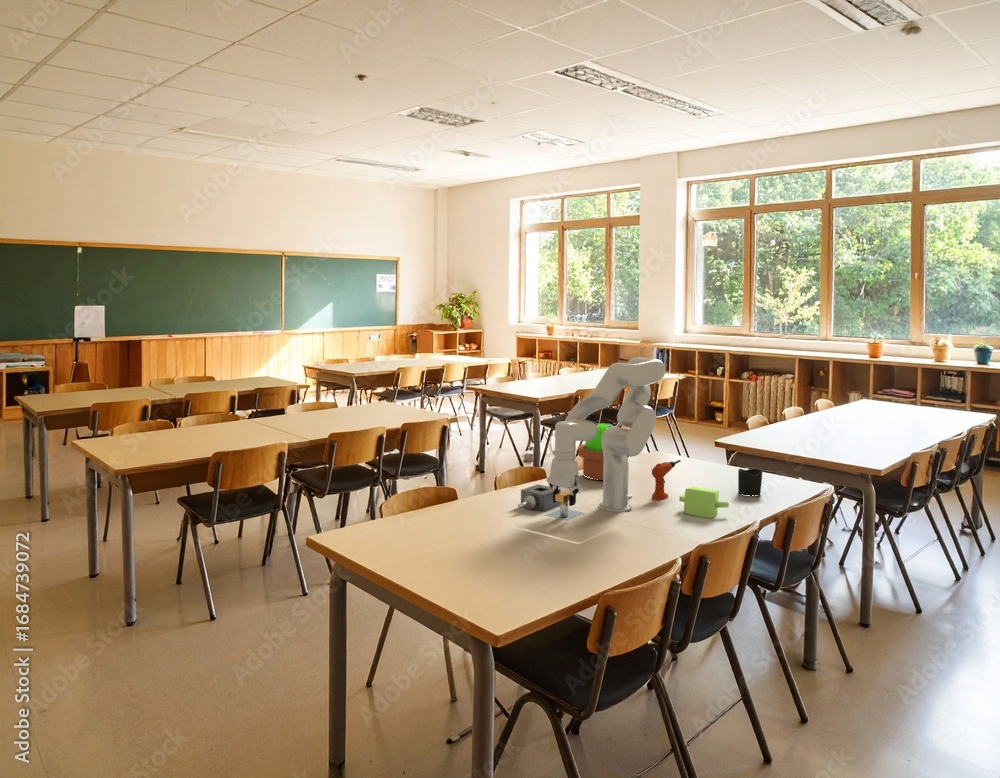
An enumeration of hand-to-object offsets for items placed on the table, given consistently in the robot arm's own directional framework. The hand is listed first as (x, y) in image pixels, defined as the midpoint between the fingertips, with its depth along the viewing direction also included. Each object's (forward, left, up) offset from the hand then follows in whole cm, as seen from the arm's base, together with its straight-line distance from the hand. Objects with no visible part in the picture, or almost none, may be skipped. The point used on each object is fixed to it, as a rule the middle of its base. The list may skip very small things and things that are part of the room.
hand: (564, 502), depth 271 cm
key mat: (-3, -1, -6) cm, 7 cm away
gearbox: (-39, +37, -6) cm, 54 cm away
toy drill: (-52, +15, -6) cm, 54 cm away
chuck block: (-2, -15, -6) cm, 16 cm away
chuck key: (0, 0, -5) cm, 5 cm away
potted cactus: (-63, -22, -6) cm, 67 cm away
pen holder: (-77, +40, -6) cm, 87 cm away
